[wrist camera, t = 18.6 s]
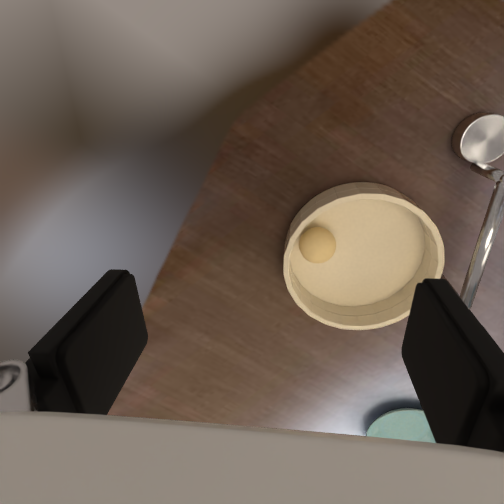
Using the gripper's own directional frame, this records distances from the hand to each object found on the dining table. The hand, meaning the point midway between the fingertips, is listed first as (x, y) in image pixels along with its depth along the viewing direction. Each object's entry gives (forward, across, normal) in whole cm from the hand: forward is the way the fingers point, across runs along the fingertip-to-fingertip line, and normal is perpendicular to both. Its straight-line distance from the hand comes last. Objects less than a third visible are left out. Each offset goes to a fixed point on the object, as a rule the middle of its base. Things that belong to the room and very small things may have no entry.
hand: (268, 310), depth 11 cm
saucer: (+26, -18, +40) cm, 51 cm away
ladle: (+27, -18, +6) cm, 33 cm away
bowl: (+26, -8, +11) cm, 30 cm away
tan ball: (+22, -4, +10) cm, 25 cm away
